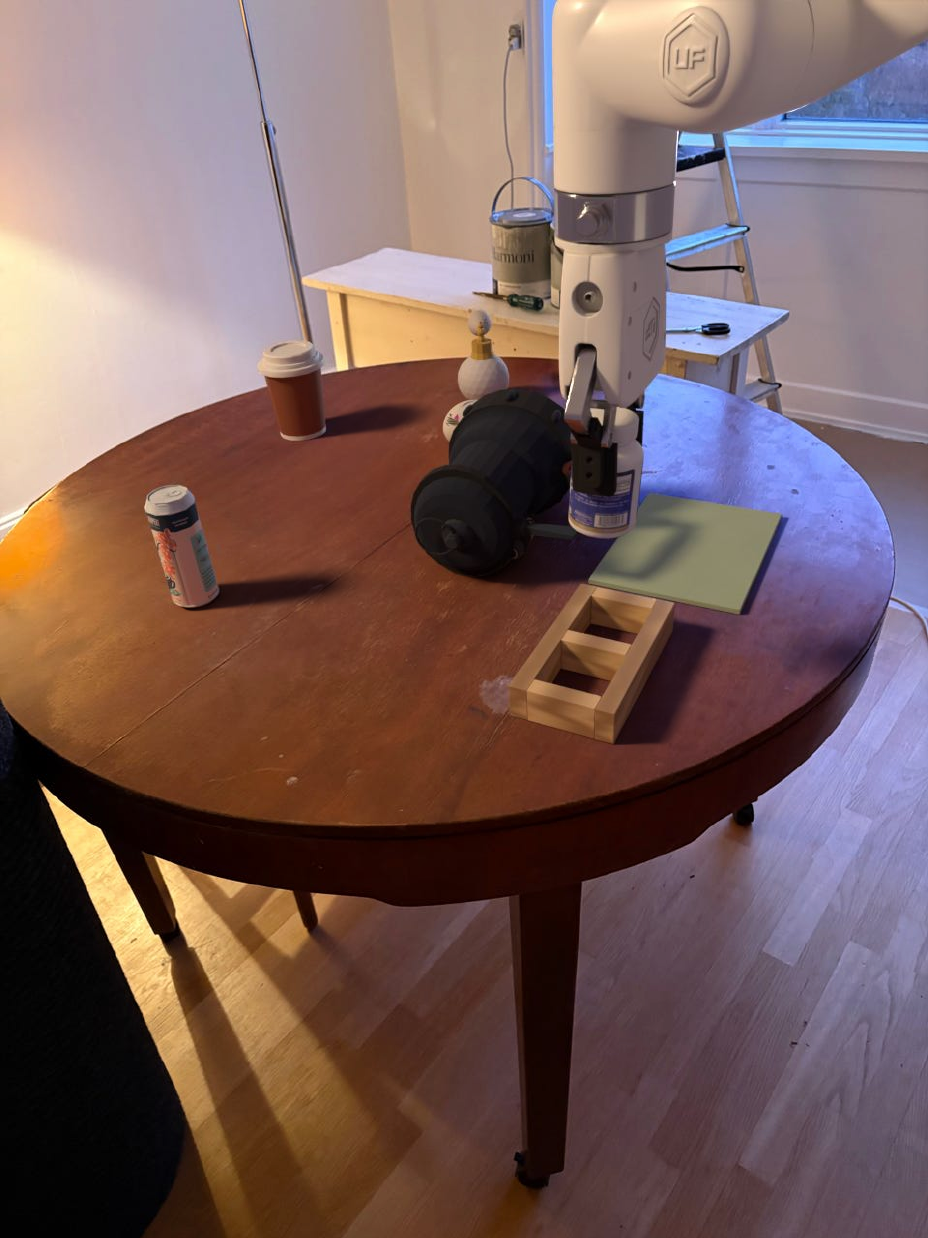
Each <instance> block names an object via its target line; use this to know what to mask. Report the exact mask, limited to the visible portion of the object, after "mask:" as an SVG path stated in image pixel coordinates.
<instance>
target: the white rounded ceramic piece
mask: <svg viewBox="0 0 928 1238" xmlns="http://www.w3.org/2000/svg"><path fill="white" fill-rule="evenodd" d="M476 401H477V400H468V399H467V400H464V401H461V402H459V403H458V404H456V405H454V406H453V407H452V408H451V409H450V410H449V411H448V412H447V414H446V415H445V417H444V420H443V423H442V432H443V436H444V437H445V439H446V440H447V441H448V442H450V439H451V436H452V433H453V430H454V429H455V428H456V426H457V425H458V424H459V422H460V421H461V420H462V418H463V417H464V416H463V411H464V410H465V408H466V407H467V406H468V405H473V403H475V402H476Z"/></svg>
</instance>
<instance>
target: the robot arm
mask: <svg viewBox="0 0 928 1238" xmlns="http://www.w3.org/2000/svg"><path fill="white" fill-rule="evenodd" d="M551 18H552V19H551V65H552V66H551V67H552V68H551V71H552V74H551V76H552V77H551V78H552V79H551V80H552V140H553V141H552V142H553V143H552V144H553V145H552V147H553V148H552V149H553V150H552V151H553V153H552V154H553V217H554V221H553V222H554V228H553V229H554V245H555V246H556V247H557V248H559V249H562V250H563V257H562V268H561V282H560V296H559V299H560V301H559V321H558V376H559V377H558V380H559V389H560V390H559V391H560V394H561V395H560V396H561V397H562V398H563V399H564V401H566V405H565V409H564V410H565V413H564V421H565V422H566V424H567V425H568V426H569V428H570V431H571V438H570V439H571V443H572V488H573V490H574V491H575V492H579V493H586V494H593V495H599V496H606V497H612V496H613V495H614V494H615V492H616V490H617V456H618V443H613V435H614V427H615V419H616V410H617V407H619V408H626V409H629V410H631V411H633V412H634V413H636V414H637V415H638V418H639V424H638V433H637V438H636V439H635V440H636V441H637V442H639V444H640V445H641V446H642V447H643V435H644V414H645V411H644V410H642V409H643V408H644V405H645V400H646V395H645V394H646V392H645V391H646V389H647V388H648V387H649V386H650V384H651V383H652V382H653V381H654V380H655V378H657V376H658V375H659V374H660V372H661V371H662V369H663V367H664V365H665V361H666V354H667V353H666V351H667V348H666V347H667V285H668V283H667V255H666V254H667V253H666V244H668V243H670V241H672V240H673V231H674V229H673V228H674V215H675V213H674V212H675V198H676V197H675V195H676V180H677V179H676V177H677V162H678V161H677V160H678V143H679V132H683V133H690V134H696V135H697V134H698V135H700V134H701V135H716V134H722V133H728V132H732V131H735V130H738V129H741V128H744V127H747V126H751V125H754V124H757V123H759V122H761V121H763V120H764V121H765V120H768V119H771V118H773V117H777V116H780V115H784V114H787V113H791V112H794V111H796V110H800V109H802V108H805V107H806V106H808V105H811V104H813V103H815V102H817V101H819V100H820V99H822V98H825V97H827V96H828V95H830V94H832V93H834V92H836V91H838V90H839V89H841V88H843V87H845V86H847V85H848V84H850V83H852V82H854V81H856V80H857V79H859V78H861V77H863V76H865V75H867V74H868V73H871V72H872V71H874V70H876V69H877V68H879V67H881V66H883V65H885V64H886V63H888V62H890V61H892V60H894V59H895V58H897V57H900V56H901V55H903V54H905V53H907V52H908V51H910V50H912V49H913V48H915V47H917V46H919V45H921V44H923V43H924V42H926V41H928V0H556V1H555V4H554V7H553V11H552V17H551ZM594 391H596V392H603V395H604V398H595V397H593V395H594ZM592 408H594V409H603V410H604V417H603V425H602V424H601V423H600V421H599V419H598V418H597V417H592V413H591V411H590V409H592Z"/></svg>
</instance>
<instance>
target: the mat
mask: <svg viewBox="0 0 928 1238" xmlns="http://www.w3.org/2000/svg"><path fill="white" fill-rule="evenodd" d="M782 519H783V514H782V513H780V512H775V511H774V512H773V511H768V510H761V509H754V508H750V507H749V508H748V507H742V506H735V505H728V504H724V503H716V502H710V501H704V500H697V499H692V498H686V497H679V496H674V495H665V494H659V493H654V492H648V494H647V495H646V496H645V498H644V499H643V500H642V502H641V504H640V505H639V506H638V511H637V519H636V524H635V526H634V528H633V529H632V530H631V531H630V532H628V533H627V534H625V535H622V536H619V537H616V539H615V540H614V542H613V544H612V545H611V546H610V548H609V549H608V551H607V552H606V554H605V555H604V557H603V558H602V559H601V560H600V562H599V563H598V565H597V566H596V568H595V569H594V570H593V572H592V574H591V575H589V578H588V585H592V586H596V587H601V588H606V589H611V590H616V591H621V592H625V593H630V594H635V595H640V596H645V597H650V598H655V599H659V600H664V601H669V602H674V603H675V602H676V603H680V604H685V605H690V606H694V607H699V608H705V609H710V610H714V611H719V612H723V613H729V614H734V615H739V616H740V615H741V613H742V611H743V608H744V606H745V604H746V601H747V599H748V596H749V594H750V592H751V590H752V587H753V585H754V583H755V580H756V579H757V576H758V573H759V572H760V570H761V567H762V565H763V563H764V560H765V557H766V555H767V553H768V551H769V548H770V546H771V544H772V541H773V539H774V537H775V535H776V532H777V530H778V528H779V526H780V523H781V521H782Z"/></svg>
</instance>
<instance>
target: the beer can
mask: <svg viewBox="0 0 928 1238" xmlns="http://www.w3.org/2000/svg"><path fill="white" fill-rule="evenodd" d="M143 509H144V512H145V514H146V518H147V521H148V524H149V527H150V531H151V533H152V537H153V540H154V543H155V547H156V550H157V553H158V557H159V559H160V563H161V566H162V568H163V573H164V575H165V579H166V582H167V586H168V589H169V592H170V595H171V596H170V597H171V599H172V602H173V603H174V604H175V605H176V606H179V607H181V608H189V609H193V608H200V607H204V606H206V605H207V604H209V603H211V602H212V601H213V600H214V599H216V597H217V596H218V595H219V593H220V588H219V586H218V582H217V578H216V574H215V571H214V567H213V564H212V563H213V562H212V559H211V556H210V552H209V548H208V545H207V540H206V537H205V534H204V529H203V526H202V523H201V518H200V513H199V511H198V507H197V503H196V498H195V495H194V494H193V493H192V492H191V491H190V490H189V489H188V487H187V486H184V485H182V484H181V485H180V484H168V485H163V486H160V487H157V488H155V489H153V490H152V491H150V492H149V493H148V494H147V495H146V499H145V504H144V507H143Z"/></svg>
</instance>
